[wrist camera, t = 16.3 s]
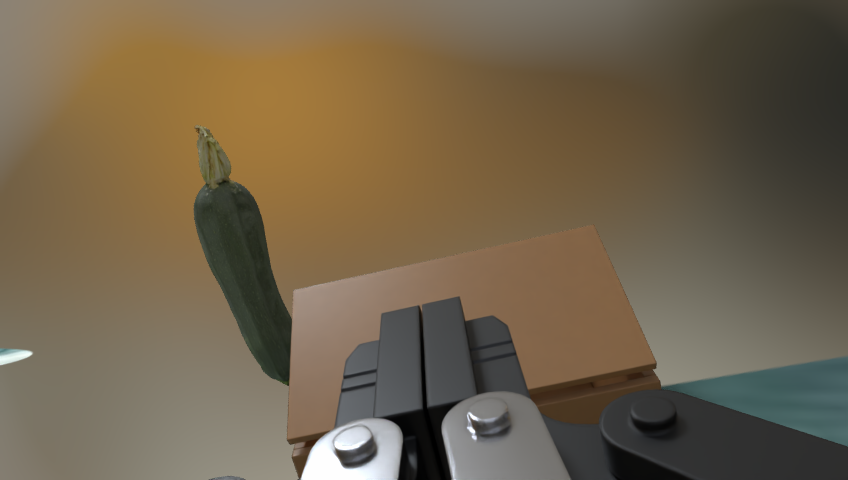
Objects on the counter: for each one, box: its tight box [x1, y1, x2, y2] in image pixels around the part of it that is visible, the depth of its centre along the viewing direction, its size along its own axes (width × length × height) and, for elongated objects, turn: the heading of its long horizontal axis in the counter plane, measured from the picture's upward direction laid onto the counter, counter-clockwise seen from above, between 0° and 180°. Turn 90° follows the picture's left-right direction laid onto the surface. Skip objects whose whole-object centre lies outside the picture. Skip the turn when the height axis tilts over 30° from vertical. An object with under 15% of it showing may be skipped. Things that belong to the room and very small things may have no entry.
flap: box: [287, 225, 657, 445], centre depth 30 cm, size 15×8×1 cm, turn 91°
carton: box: [292, 370, 661, 479], centre depth 37 cm, size 15×17×8 cm
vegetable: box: [194, 125, 292, 386], centre depth 48 cm, size 4×4×20 cm
